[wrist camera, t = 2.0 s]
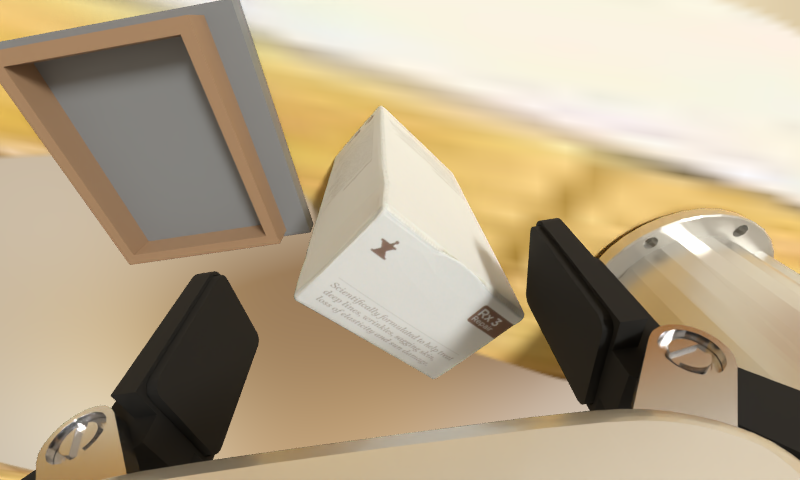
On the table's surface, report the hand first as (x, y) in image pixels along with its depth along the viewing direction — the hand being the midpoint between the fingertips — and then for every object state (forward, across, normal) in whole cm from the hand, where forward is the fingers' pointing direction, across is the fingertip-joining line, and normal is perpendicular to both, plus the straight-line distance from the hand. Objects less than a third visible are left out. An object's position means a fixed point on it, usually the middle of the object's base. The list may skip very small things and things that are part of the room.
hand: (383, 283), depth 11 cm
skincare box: (+11, -1, +1) cm, 11 cm away
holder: (+12, +11, -2) cm, 16 cm away
